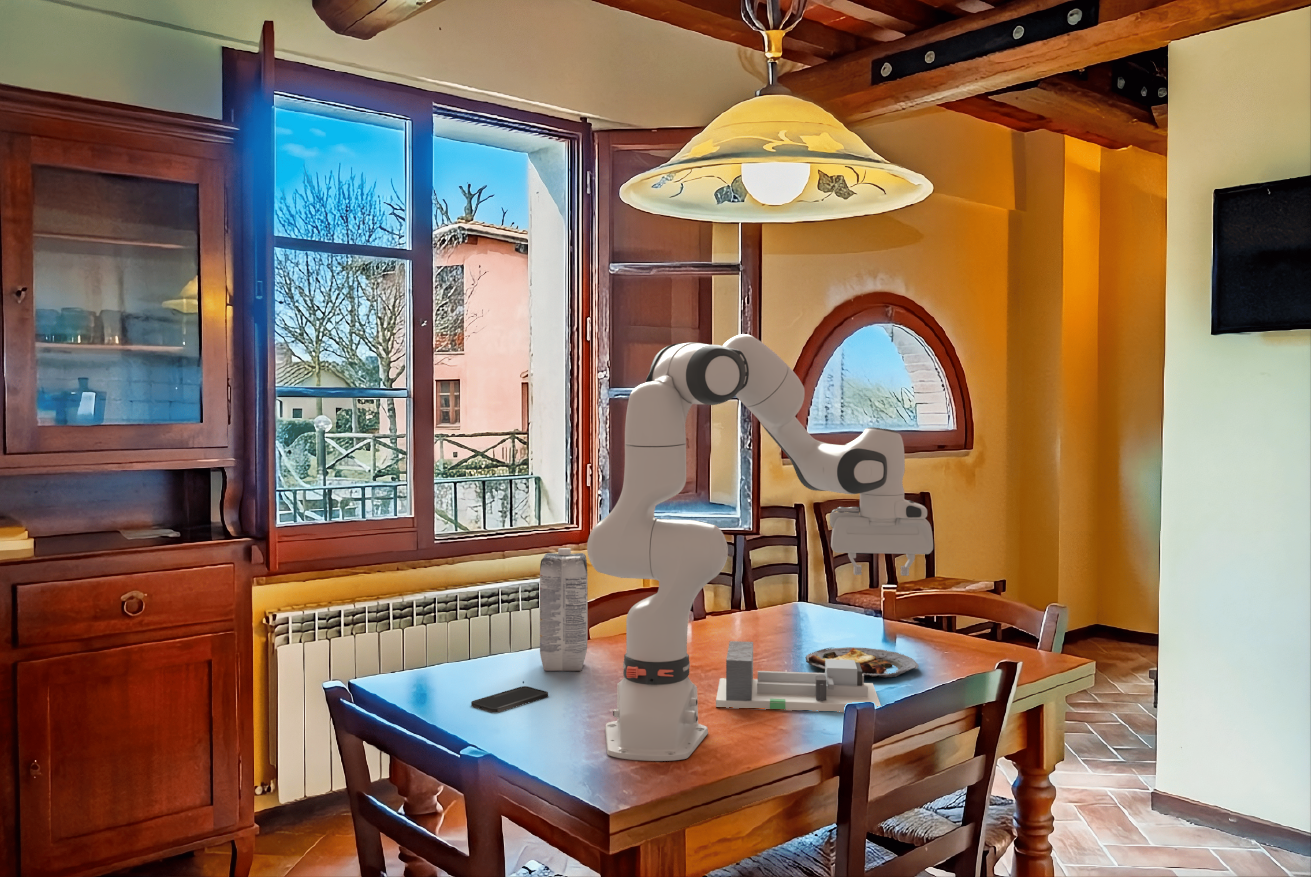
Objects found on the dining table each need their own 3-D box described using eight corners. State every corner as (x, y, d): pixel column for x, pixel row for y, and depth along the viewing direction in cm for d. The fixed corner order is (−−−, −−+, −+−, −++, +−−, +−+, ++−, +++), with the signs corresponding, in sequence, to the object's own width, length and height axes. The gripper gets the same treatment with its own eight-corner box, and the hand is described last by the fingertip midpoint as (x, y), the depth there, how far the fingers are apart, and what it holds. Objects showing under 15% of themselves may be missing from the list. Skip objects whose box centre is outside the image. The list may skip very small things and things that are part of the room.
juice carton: (585, 672, 223) (585, 552, 222) (538, 672, 222) (538, 552, 222) (588, 662, 231) (588, 546, 231) (542, 662, 231) (542, 546, 230)
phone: (550, 692, 205) (495, 709, 193) (550, 698, 205) (495, 715, 193) (524, 685, 210) (468, 701, 198) (524, 690, 210) (468, 707, 198)
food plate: (865, 688, 210) (866, 672, 210) (784, 667, 228) (784, 652, 228) (936, 672, 226) (936, 656, 226) (855, 653, 244) (855, 639, 244)
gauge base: (881, 714, 193) (881, 696, 193) (715, 707, 197) (715, 690, 197) (872, 690, 209) (872, 673, 209) (720, 685, 213) (720, 668, 213)
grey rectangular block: (751, 701, 196) (751, 661, 196) (726, 700, 197) (726, 660, 196) (752, 679, 212) (753, 641, 212) (729, 678, 213) (729, 641, 212)
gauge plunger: (864, 701, 195) (864, 676, 195) (828, 700, 196) (828, 675, 196) (859, 684, 208) (859, 660, 207) (824, 682, 208) (825, 659, 208)
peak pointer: (826, 703, 194) (827, 682, 194) (816, 702, 194) (816, 682, 194) (825, 696, 199) (825, 676, 199) (815, 695, 199) (815, 675, 199)
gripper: (830, 508, 200) (830, 576, 201) (935, 510, 198) (934, 578, 199) (828, 504, 207) (828, 570, 208) (929, 505, 204) (929, 572, 205)
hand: (881, 574), depth 203 cm, fingers open, 8 cm apart
